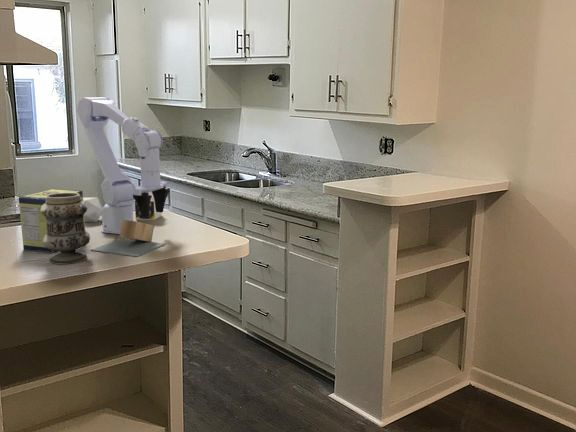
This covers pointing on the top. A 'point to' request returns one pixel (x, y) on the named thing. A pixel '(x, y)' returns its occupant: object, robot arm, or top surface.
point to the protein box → (37, 219)
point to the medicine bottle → (152, 210)
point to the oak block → (136, 230)
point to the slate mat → (128, 247)
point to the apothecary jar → (65, 227)
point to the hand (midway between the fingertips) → (152, 214)
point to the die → (92, 209)
